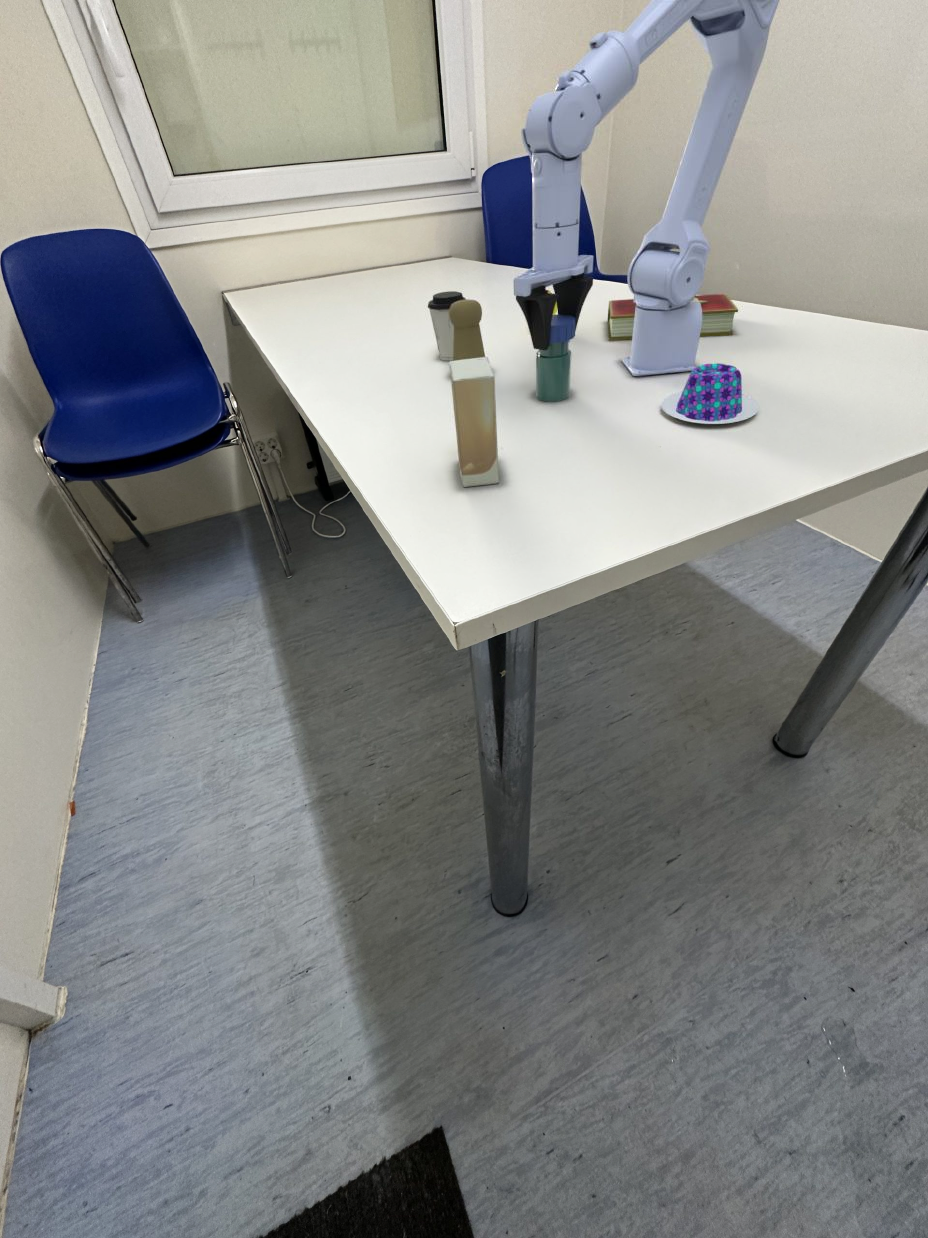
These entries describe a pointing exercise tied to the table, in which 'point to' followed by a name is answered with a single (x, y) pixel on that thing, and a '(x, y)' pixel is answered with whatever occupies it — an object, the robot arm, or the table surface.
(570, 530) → the table surface
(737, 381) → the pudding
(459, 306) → the cork
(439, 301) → the coffee cup
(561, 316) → the lid
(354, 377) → the table surface
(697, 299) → the hardcover book
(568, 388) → the jar
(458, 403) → the cosmetic box
